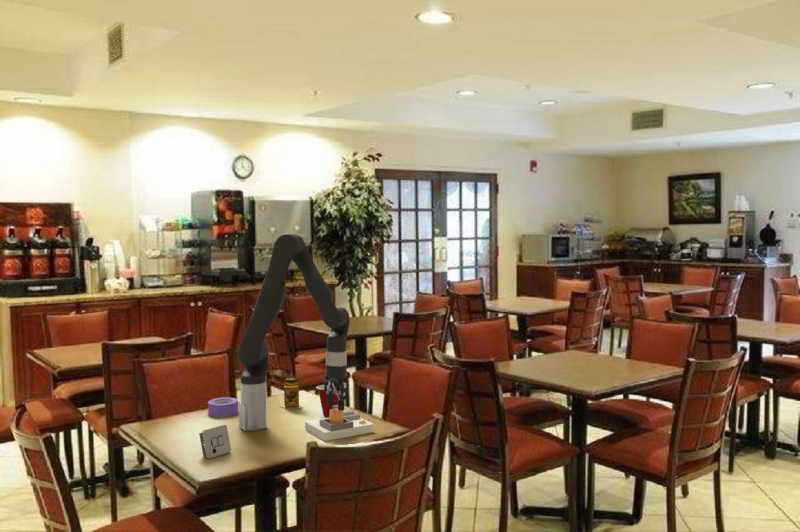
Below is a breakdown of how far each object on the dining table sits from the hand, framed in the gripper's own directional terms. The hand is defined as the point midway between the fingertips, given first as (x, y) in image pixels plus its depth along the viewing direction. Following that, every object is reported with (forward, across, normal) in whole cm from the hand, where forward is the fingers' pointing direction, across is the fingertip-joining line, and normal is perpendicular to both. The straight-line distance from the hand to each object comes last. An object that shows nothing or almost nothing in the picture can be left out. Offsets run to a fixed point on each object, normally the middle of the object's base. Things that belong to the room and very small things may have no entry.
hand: (335, 407), depth 246 cm
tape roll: (+11, -50, -25) cm, 57 cm away
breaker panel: (+10, -3, +3) cm, 11 cm away
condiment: (+11, -44, +2) cm, 46 cm away
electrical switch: (+11, -2, -44) cm, 45 cm away
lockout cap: (+7, 0, 0) cm, 7 cm away
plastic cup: (+10, -24, +10) cm, 28 cm away
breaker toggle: (+7, -7, +5) cm, 11 cm away
